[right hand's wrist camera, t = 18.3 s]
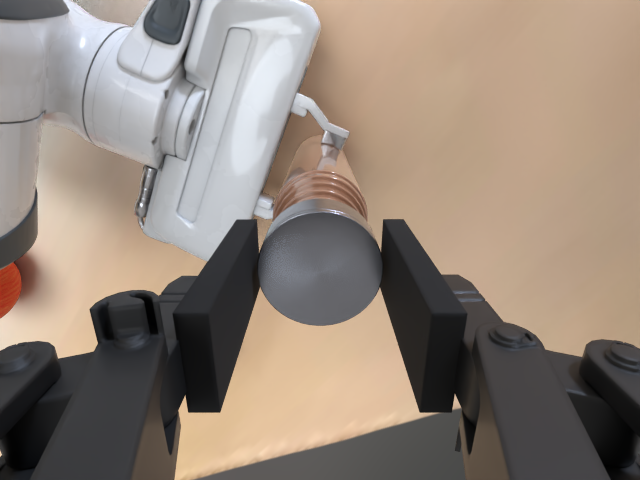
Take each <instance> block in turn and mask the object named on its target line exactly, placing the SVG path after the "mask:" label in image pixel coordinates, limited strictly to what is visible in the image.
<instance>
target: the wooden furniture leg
mask: <svg viewBox="0 0 640 480" xmlns="http://www.w3.org/2000/svg"><path fill="white" fill-rule="evenodd" d="M321 138H322V135H316V136H312V137H310V138H308V139H306V140H305V141H303V142H302V143H301V145H300V146H299V148H298V149H297V152H296V154H295V156H294V159H293V161H292V163H291V165H290V168H289V170H288V172H287V175H286V177H285V179H284V182H283V184H282V186H281V188H280V191H279V193H278V195H277V198H276V200H275V203H274V207H273V221H274V220H275V219H276V218H277V217H278V216H279V215H280V214H281V213H282V212H283V211H284V210H286V209H287V208H289V207H290V206H292V205H294V204H296V203H299V202H301V201H305V200H310V199H331V200H335V201H339V202H342V203H344V204H346V205H348V206H350V207H352V208H353V209H355V210H356V211H357V212H359V213H360V214H361V215H362V216H363V217H364V218H365V220H366V221H367V222H368V218H367V216H368V215H367V207H366V203H365V200H364V197H363V195H362V193H361V190H360V188H359V186H358V183H357V181H356V179H355V177H354V174H353V172H352V170H351V167H350V165H349V163H348V161H347V158H346V156H345V154H344V151H343V150H338V149H336V148H335V147H334V146H333V145H326V144H324V143H322V142H321Z"/></svg>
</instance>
